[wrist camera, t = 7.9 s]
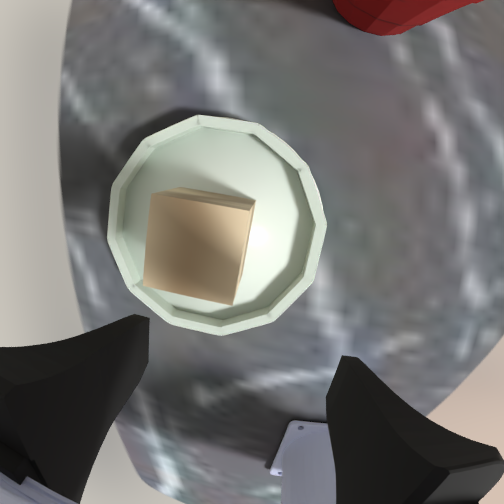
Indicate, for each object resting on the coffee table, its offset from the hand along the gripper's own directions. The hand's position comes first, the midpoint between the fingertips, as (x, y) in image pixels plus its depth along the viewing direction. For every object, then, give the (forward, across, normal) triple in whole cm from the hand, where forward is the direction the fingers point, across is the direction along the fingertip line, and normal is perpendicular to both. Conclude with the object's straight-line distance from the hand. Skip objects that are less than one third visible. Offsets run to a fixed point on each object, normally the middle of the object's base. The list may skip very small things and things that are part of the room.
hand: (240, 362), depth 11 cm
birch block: (+8, +3, -3) cm, 9 cm away
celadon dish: (+9, +3, -3) cm, 10 cm away
